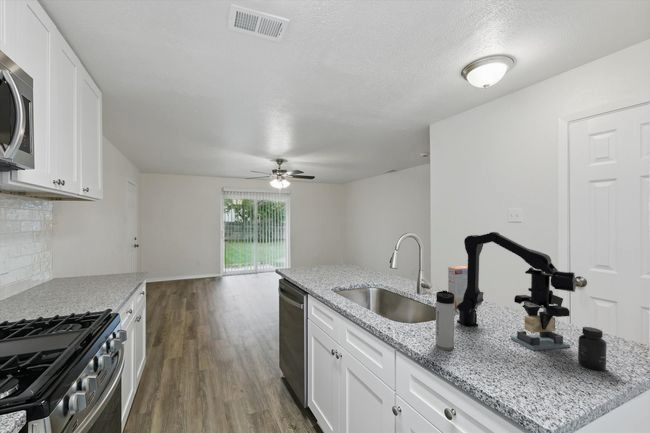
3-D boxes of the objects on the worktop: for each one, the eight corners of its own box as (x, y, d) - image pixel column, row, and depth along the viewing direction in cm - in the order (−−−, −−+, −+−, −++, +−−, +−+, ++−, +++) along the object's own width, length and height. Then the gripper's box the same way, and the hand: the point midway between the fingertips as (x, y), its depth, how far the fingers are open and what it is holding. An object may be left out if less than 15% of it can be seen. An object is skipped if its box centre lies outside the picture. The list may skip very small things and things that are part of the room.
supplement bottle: (608, 374, 92) (609, 335, 92) (580, 367, 96) (580, 330, 96) (603, 364, 98) (603, 328, 98) (576, 359, 102) (576, 323, 102)
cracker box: (468, 303, 167) (469, 265, 167) (477, 306, 161) (477, 267, 161) (447, 304, 163) (447, 266, 163) (455, 308, 157) (455, 268, 157)
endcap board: (533, 350, 108) (533, 340, 108) (511, 339, 118) (511, 330, 118) (570, 347, 111) (570, 337, 111) (545, 336, 121) (545, 327, 121)
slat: (532, 332, 112) (532, 319, 112) (524, 329, 115) (524, 316, 115) (554, 331, 114) (555, 317, 114) (546, 327, 117) (546, 314, 117)
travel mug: (453, 344, 112) (453, 291, 112) (454, 352, 106) (455, 295, 106) (435, 341, 114) (436, 289, 114) (435, 349, 108) (436, 293, 108)
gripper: (582, 292, 107) (582, 336, 107) (536, 280, 125) (536, 318, 125) (556, 293, 105) (555, 338, 105) (513, 281, 123) (513, 319, 123)
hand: (539, 327), depth 115 cm, fingers closed on slat, 3 cm apart
